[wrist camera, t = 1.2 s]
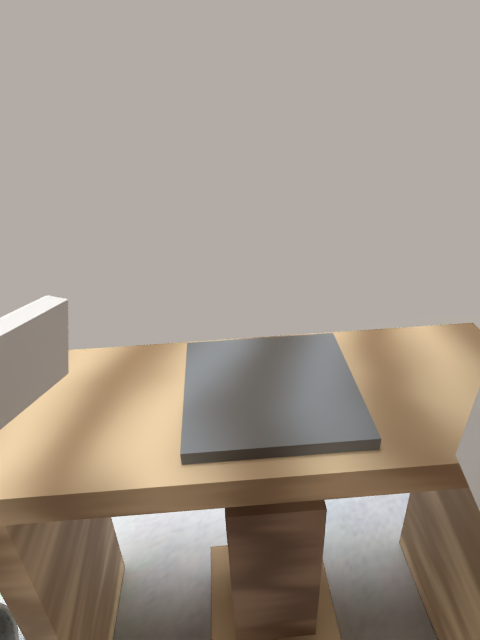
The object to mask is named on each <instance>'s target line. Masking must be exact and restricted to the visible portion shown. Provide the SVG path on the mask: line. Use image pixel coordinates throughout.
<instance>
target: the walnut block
mask: <svg viewBox="0 0 480 640" xmlns="http://www.w3.org/2000/svg"><path fill="white" fill-rule="evenodd" d="M326 512H327V509H326V505H325V501H324V500H314V501H302V502H289V503H277V504H265V505H252V506H240V507H228V508H225V519H226V531H227V543H228V555H229V566H230V578H231V590H232V602H233V614H234V625H235V637H236V640H265V639H276V638H286V637H297V636H308V635H316V626H317V615H318V603H319V592H320V580H321V569H322V557H323V546H324V535H325V523H326Z"/></svg>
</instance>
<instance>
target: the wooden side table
mask: <svg viewBox="0 0 480 640" xmlns="http://www.w3.org/2000/svg"><path fill="white" fill-rule="evenodd" d="M68 372H69V373H68V374H67V375H66V376H65V377H64V378H62V379H61V380H60V381H59V382H58V383H56V384H55V385H54V386H53V387H52V388H50V389H49V390H48V391H47V392H46V393H44V394H43V395H42V396H41V397H39V398H38V399H37V400H36V401H35V402H33V403H32V404H31V405H30V406H29V407H27V408H26V409H25V410H24V411H23V412H21V413H20V414H19V415H18V416H17V417H15V418H14V419H13V420H12V421H10V422H9V423H8V424H7V425H6V426H4V427H3V428H2V429H1V430H0V593H1V595H2V597H3V599H4V601H5V602H6V604H7V606H8V608H9V610H10V612H11V613H12V615H13V617H14V619H15V621H16V623H17V625H18V626H19V628H20V630H21V632H22V634H23V636H24V638H25V639H26V640H113V636H114V630H115V623H116V617H117V611H118V604H119V598H120V592H121V585H122V579H123V573H124V566H125V565H124V562H123V558H122V555H121V551H120V548H119V544H118V541H117V537H116V533H115V530H114V526H113V523H112V519H111V517H117V516H129V515H141V514H154V513H166V512H178V511H191V510H203V509H215V508H228V507H240V506H252V505H265V504H277V503H289V502H302V501H314V500H326V499H338V498H351V497H363V496H375V495H388V494H400V493H410V496H409V501H408V505H407V510H406V514H405V519H404V523H403V528H402V532H401V537H400V541H399V543H400V546H401V548H402V551H403V553H404V556H405V558H406V561H407V563H408V566H409V568H410V571H411V573H412V576H413V578H414V581H415V584H416V586H417V589H418V591H419V594H420V596H421V599H422V601H423V604H424V606H425V609H426V611H427V614H428V616H429V619H430V621H431V624H432V626H433V629H434V632H435V634H436V637H437V639H438V640H480V511H479V509H478V506H477V504H476V502H475V499H474V497H473V495H472V492H471V490H470V488H469V485H468V483H467V481H466V478H465V476H464V474H463V471H462V469H461V467H460V464H459V462H458V460H457V457H456V452H457V449H458V446H459V443H460V440H461V438H462V435H463V432H464V429H465V426H466V423H467V421H468V418H469V415H470V412H471V409H472V407H473V404H474V401H475V398H476V395H477V392H478V390H479V387H480V329H479V328H478V327H477V326H476V325H475V324H474V323H462V324H449V325H434V326H418V327H404V328H390V329H389V328H388V329H374V330H360V331H346V332H345V331H344V332H329V333H316V334H315V333H314V334H300V335H286V336H271V337H257V338H256V337H255V338H242V339H226V340H211V341H197V342H181V343H167V344H153V345H137V346H123V347H108V348H93V349H78V350H68ZM211 617H212V640H236V637H235V625H234V614H233V602H232V590H231V578H230V566H229V555H228V545H227V546H215V547H211ZM265 640H341V637H340V633H339V628H338V624H337V620H336V615H335V611H334V607H333V603H332V598H331V594H330V590H329V585H328V581H327V577H326V572H325V568H324V564H323V559H322V569H321V580H320V592H319V603H318V615H317V626H316V635H308V636H297V637H286V638H276V639H265Z"/></svg>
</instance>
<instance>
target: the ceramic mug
mask: <svg viewBox="0 0 480 640" xmlns="http://www.w3.org/2000/svg"><path fill="white" fill-rule="evenodd" d="M0 640H19V637H18V627H17V623H16V621H15V619H14V617H13V615H12V613H11V612H10V610H9V608H8V607H7V606H6V605H4V604H2V603H0Z"/></svg>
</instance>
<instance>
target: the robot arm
mask: <svg viewBox="0 0 480 640" xmlns="http://www.w3.org/2000/svg"><path fill="white" fill-rule="evenodd" d="M68 373H69V372H68V299H63V298H58V297H52V296H48V295H46V296H45V297H42V298H40V299H38V300H36V301H34V302H32V303H30V304H28V305H26V306H24V307H22V308H20V309H18V310H15V311H13V312H12V313H9V314H7V315H5V316H3V317H1V318H0V430H1V429H2V428H3V427H4V426H6V425H7V424H8V423H9V422H10V421H12V420H13V419H14V418H15V417H17V416H18V415H19V414H20V413H21V412H23V411H24V410H25V409H26V408H27V407H29V406H30V405H31V404H32V403H33V402H35V401H36V400H37V399H38V398H39V397H41V396H42V395H43V394H44V393H46V392H47V391H48V390H49V389H50V388H52V387H53V386H54V385H55V384H56V383H58V382H59V381H60V380H61V379H62V378H64V377H65V376H66V375H67V374H68ZM456 457H457V460H458V462H459V464H460V467H461V469H462V471H463V474H464V476H465V478H466V481H467V483H468V485H469V488H470V490H471V492H472V495H473V497H474V499H475V502H476V504H477V506H478V509H479V511H480V387H479V390H478V392H477V395H476V398H475V401H474V404H473V407H472V409H471V412H470V415H469V418H468V421H467V423H466V426H465V429H464V432H463V435H462V438H461V440H460V443H459V446H458V449H457V452H456Z"/></svg>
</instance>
